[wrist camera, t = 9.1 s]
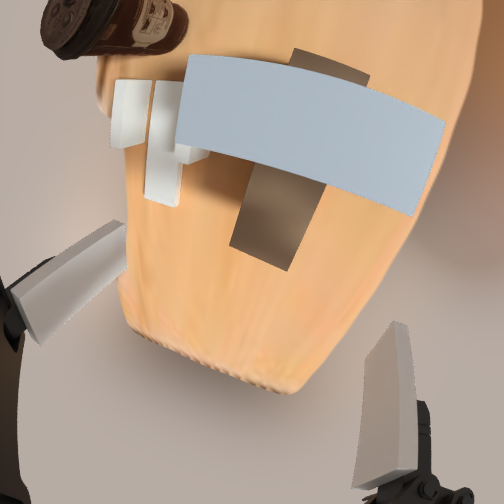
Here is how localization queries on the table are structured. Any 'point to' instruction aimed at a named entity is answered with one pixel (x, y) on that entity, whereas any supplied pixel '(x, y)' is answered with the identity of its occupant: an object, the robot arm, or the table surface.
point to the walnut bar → (284, 190)
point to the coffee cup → (112, 27)
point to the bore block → (310, 127)
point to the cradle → (153, 134)
